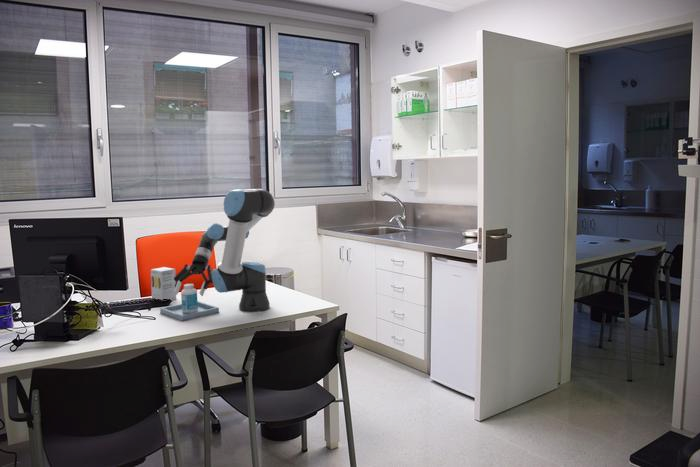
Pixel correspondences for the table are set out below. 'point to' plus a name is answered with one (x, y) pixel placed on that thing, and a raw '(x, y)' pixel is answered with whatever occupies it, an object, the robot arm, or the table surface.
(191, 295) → the pill bottle
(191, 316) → the tray
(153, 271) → the supplement box
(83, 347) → the table surface
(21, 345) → the table surface
